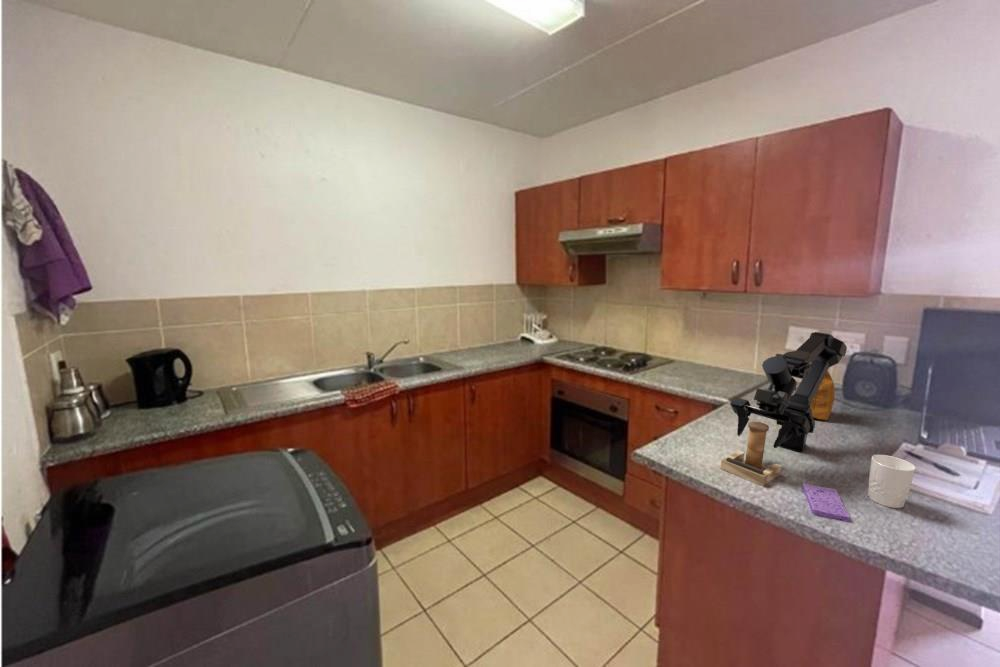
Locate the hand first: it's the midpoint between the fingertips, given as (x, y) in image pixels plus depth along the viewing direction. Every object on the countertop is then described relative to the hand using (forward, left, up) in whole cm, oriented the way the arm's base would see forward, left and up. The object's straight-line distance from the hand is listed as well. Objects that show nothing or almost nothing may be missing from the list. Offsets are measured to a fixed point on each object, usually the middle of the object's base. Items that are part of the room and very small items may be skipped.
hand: (755, 441), depth 120 cm
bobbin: (0, 0, -9) cm, 9 cm away
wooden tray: (0, +1, -9) cm, 9 cm away
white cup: (-27, -8, -9) cm, 30 cm away
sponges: (-17, +5, -9) cm, 20 cm away
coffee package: (-1, -61, -9) cm, 62 cm away
